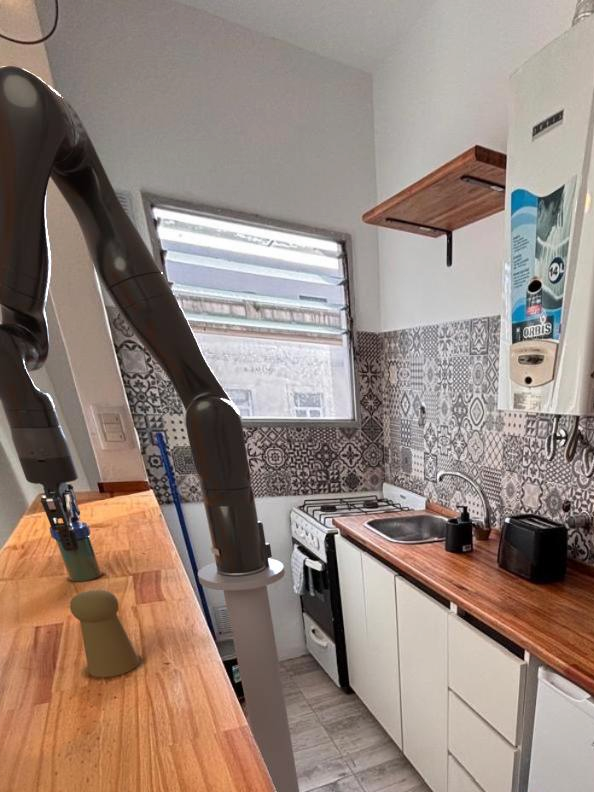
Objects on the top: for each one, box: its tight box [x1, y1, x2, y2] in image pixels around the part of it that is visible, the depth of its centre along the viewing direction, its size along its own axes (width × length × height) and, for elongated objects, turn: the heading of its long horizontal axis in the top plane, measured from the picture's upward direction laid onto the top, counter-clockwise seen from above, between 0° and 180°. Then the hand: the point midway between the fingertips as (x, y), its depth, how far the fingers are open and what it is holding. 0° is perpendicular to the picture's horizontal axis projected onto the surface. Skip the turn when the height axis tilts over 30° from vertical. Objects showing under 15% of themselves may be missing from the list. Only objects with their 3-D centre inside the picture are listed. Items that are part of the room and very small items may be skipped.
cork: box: [69, 589, 140, 678], centre depth 70 cm, size 6×6×11 cm
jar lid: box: [49, 521, 91, 541], centre depth 98 cm, size 6×6×2 cm
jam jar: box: [55, 535, 102, 582], centre depth 100 cm, size 5×5×10 cm
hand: (74, 545), depth 99 cm, fingers closed on jar lid, 6 cm apart
